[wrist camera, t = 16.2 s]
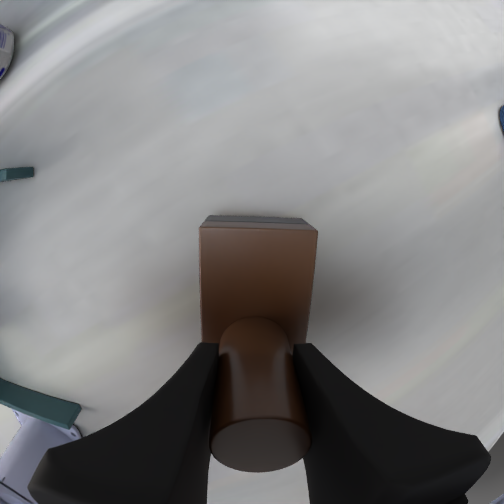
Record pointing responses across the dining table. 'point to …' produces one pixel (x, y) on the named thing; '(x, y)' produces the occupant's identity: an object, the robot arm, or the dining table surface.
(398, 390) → the dining table surface
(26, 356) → the dining table surface
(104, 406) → the dining table surface
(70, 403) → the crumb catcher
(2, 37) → the beverage can
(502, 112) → the smartphone
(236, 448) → the scrub brush
